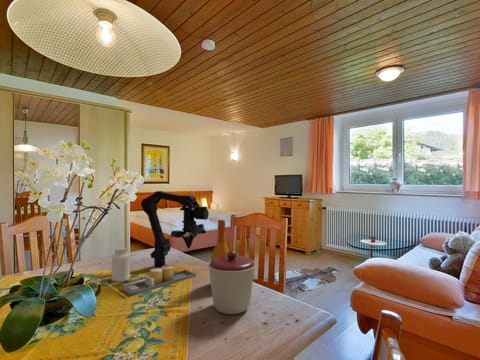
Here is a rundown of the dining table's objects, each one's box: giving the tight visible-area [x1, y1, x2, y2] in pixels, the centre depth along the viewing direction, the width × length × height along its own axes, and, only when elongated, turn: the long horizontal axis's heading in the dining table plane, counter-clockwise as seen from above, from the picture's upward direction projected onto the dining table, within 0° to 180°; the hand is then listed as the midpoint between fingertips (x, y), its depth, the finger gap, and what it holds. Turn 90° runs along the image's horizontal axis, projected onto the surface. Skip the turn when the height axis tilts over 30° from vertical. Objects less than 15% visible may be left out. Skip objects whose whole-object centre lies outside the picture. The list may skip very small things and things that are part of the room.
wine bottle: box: [210, 219, 230, 261], centre depth 118 cm, size 10×10×30 cm
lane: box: [122, 268, 197, 297], centre depth 121 cm, size 9×32×3 cm, turn 136°
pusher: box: [125, 274, 154, 287], centre depth 113 cm, size 7×11×4 cm, turn 136°
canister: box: [207, 250, 257, 315], centre depth 98 cm, size 18×18×21 cm
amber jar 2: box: [162, 264, 174, 283], centre depth 123 cm, size 6×6×7 cm
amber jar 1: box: [149, 268, 163, 285], centre depth 119 cm, size 6×6×7 cm
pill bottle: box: [111, 246, 131, 282], centre depth 126 cm, size 8×8×15 cm
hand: (188, 248), depth 139 cm, fingers closed
